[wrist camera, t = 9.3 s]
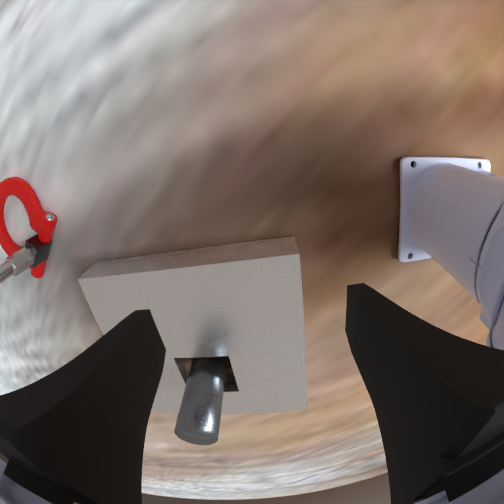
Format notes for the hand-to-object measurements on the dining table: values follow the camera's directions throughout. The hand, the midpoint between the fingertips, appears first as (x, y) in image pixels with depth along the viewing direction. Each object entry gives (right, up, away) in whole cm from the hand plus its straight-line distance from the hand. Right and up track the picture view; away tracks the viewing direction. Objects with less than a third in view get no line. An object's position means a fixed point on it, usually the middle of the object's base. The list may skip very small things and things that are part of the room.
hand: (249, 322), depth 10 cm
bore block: (-4, -5, +14) cm, 15 cm away
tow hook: (-22, +5, +10) cm, 24 cm away
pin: (-4, -6, +14) cm, 16 cm away
